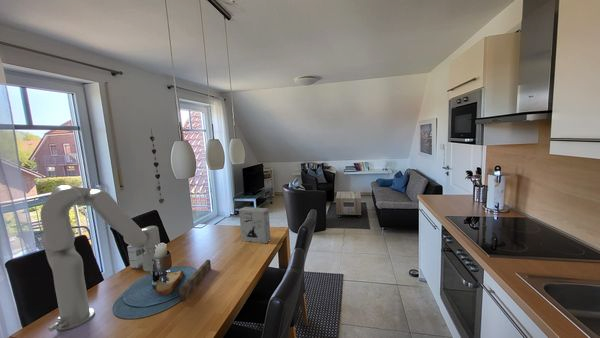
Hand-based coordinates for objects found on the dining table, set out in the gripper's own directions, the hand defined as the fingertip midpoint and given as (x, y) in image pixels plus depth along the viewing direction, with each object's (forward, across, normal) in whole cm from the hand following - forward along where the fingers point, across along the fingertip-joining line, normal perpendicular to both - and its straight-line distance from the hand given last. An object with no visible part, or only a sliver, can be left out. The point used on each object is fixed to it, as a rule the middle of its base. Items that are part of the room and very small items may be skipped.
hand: (156, 280), depth 136 cm
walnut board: (+2, +23, 0) cm, 23 cm away
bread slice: (+2, +8, +1) cm, 8 cm away
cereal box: (+2, +42, +57) cm, 70 cm away
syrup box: (+2, -27, +20) cm, 33 cm away
